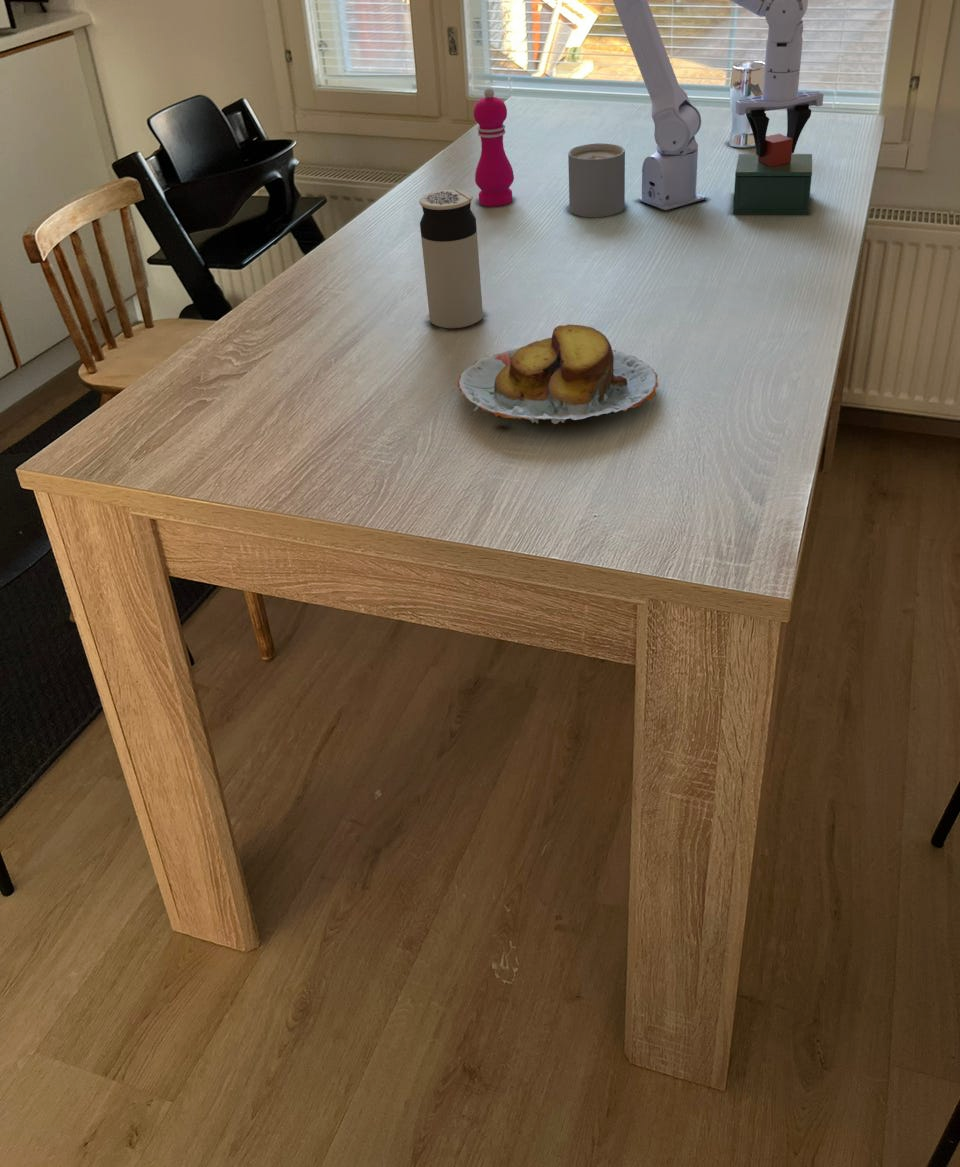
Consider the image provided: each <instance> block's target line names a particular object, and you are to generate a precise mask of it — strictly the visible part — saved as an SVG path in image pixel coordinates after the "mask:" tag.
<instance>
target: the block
mask: <svg viewBox="0 0 960 1167" xmlns="http://www.w3.org/2000/svg"><path fill="white" fill-rule="evenodd" d="M792 144H793V139H792V138H789V137H787V135H784V134H781V133H776V134H772V135H771V134H770V135H766V140H765V154H764V157H759V156H758V162H761V163H763V164H765V165H768V166H770V167H773V166H778V165H783V164H787V163H791V155H792V154H793V153H792Z"/></svg>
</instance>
